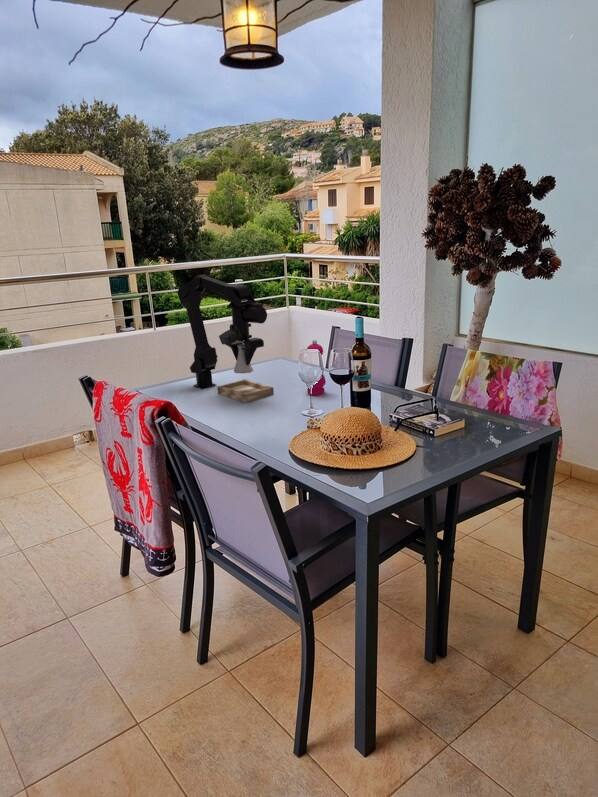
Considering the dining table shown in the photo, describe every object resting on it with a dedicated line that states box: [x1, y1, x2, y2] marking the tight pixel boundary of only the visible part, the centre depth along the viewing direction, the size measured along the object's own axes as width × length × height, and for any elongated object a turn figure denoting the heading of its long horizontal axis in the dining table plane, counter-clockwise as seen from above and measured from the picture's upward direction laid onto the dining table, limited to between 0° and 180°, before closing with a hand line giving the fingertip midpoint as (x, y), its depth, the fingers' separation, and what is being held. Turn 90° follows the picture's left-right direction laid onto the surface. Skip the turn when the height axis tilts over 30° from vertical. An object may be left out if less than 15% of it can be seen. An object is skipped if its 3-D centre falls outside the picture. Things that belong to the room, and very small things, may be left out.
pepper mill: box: [305, 339, 326, 397], centre depth 202 cm, size 7×7×20 cm
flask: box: [233, 344, 254, 375], centre depth 202 cm, size 7×7×10 cm
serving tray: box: [216, 378, 275, 404], centre depth 206 cm, size 17×13×3 cm
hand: (243, 363), depth 203 cm, fingers closed on flask, 5 cm apart
